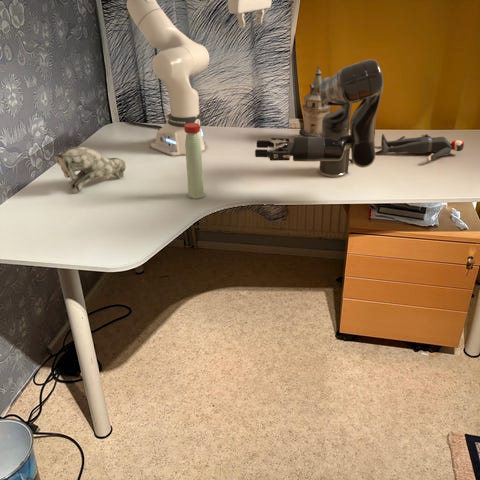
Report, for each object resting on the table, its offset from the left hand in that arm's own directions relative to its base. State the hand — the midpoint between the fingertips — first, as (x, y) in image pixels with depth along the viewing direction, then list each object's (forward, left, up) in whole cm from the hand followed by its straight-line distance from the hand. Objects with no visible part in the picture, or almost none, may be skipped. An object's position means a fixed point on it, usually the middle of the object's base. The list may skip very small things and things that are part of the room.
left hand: (250, 25), depth 175 cm
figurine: (-35, -45, -48) cm, 74 cm away
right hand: (+17, -23, -32) cm, 43 cm away
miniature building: (+7, +37, -48) cm, 61 cm away
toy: (+48, +45, -48) cm, 82 cm away
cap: (0, -33, -25) cm, 41 cm away
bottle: (0, -33, -48) cm, 58 cm away
